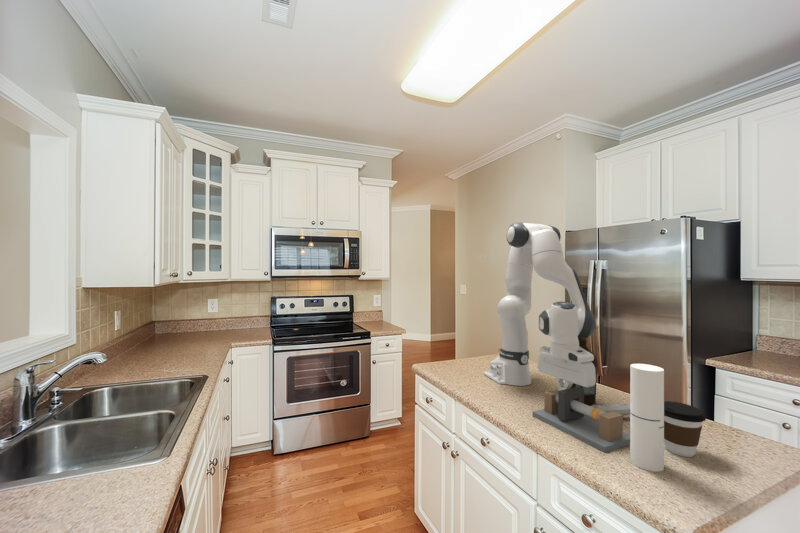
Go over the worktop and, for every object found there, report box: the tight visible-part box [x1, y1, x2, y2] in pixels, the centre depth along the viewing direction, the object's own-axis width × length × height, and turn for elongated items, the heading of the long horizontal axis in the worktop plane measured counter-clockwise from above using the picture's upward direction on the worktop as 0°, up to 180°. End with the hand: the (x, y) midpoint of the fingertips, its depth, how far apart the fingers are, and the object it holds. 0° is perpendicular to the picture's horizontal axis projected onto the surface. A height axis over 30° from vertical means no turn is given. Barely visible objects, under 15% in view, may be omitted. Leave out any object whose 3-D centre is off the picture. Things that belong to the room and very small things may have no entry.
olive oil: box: [571, 338, 598, 406], centre depth 132 cm, size 11×11×25 cm
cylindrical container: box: [629, 363, 665, 473], centre depth 90 cm, size 7×7×25 cm
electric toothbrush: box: [586, 402, 630, 417], centre depth 117 cm, size 5×7×25 cm
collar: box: [558, 387, 584, 422], centre depth 113 cm, size 2×9×9 cm, turn 115°
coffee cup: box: [664, 400, 706, 458], centre depth 96 cm, size 11×11×12 cm
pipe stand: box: [532, 389, 630, 453], centre depth 110 cm, size 26×14×8 cm, turn 25°
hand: (564, 392), depth 115 cm, fingers closed
